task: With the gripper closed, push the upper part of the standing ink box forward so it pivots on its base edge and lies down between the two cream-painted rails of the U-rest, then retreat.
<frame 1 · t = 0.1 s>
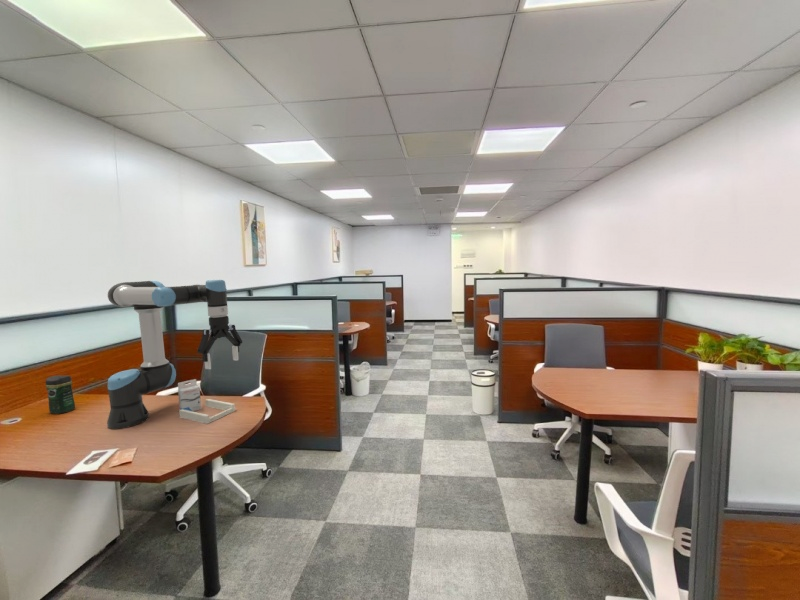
hand: (222, 364, 148), 28 cm above the table, fingers open, 13 cm apart
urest: (207, 413, 164), on the table
ink box: (190, 410, 169), on the table
coffee jar: (62, 411, 174), on the table
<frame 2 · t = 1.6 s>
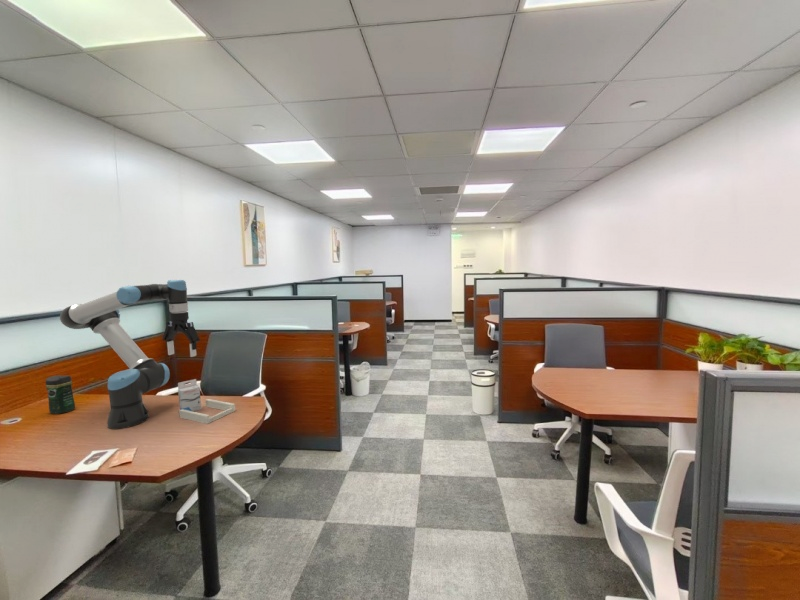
hand: (182, 355, 166), 28 cm above the table, fingers open, 13 cm apart
nothing on the table moved.
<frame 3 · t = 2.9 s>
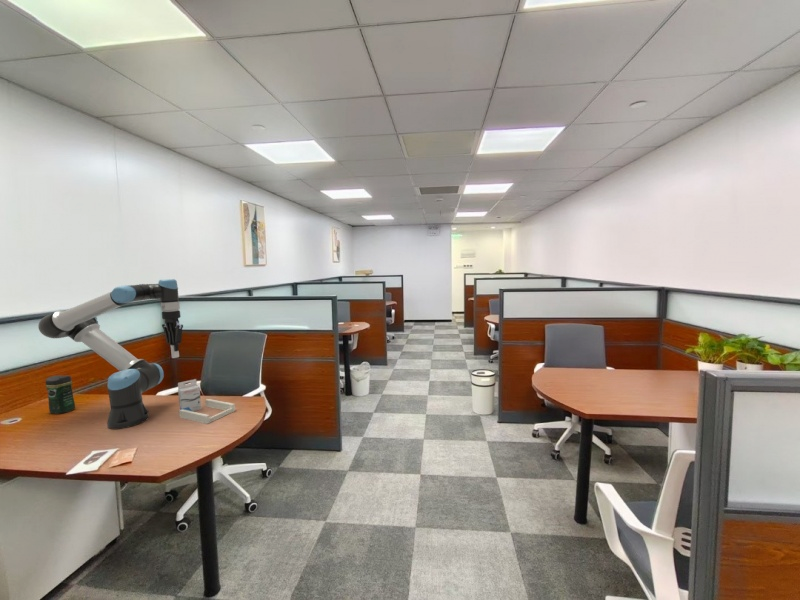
hand: (175, 357, 170), 26 cm above the table, fingers closed
nothing on the table moved.
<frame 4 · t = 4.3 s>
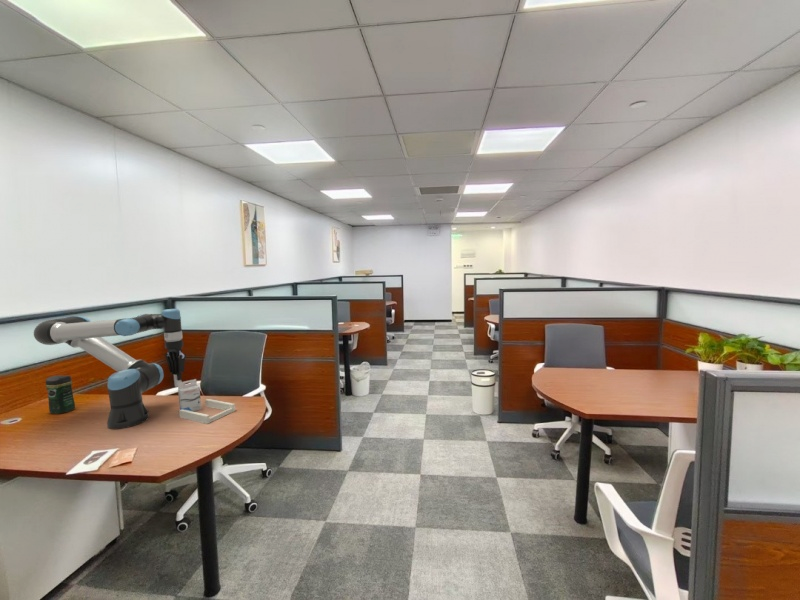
hand: (178, 386, 171), 12 cm above the table, fingers closed
nothing on the table moved.
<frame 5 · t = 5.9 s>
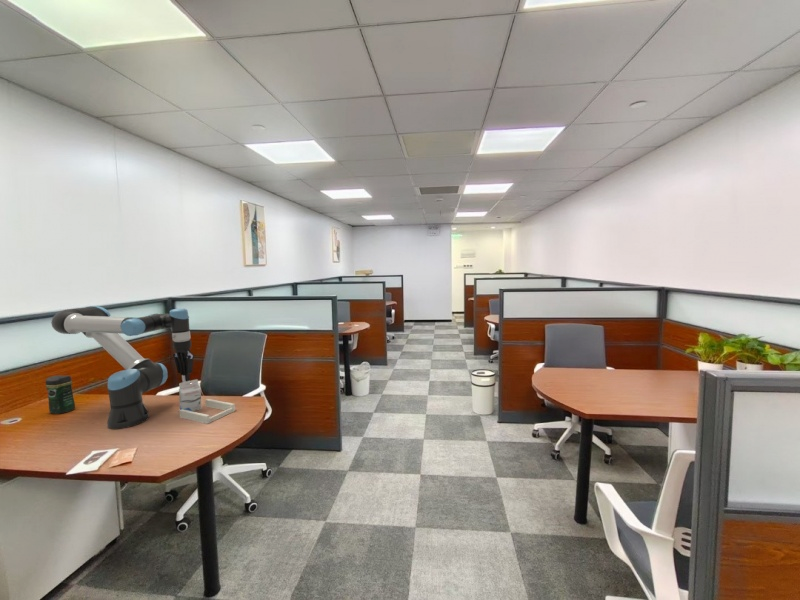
hand: (186, 387, 169), 12 cm above the table, fingers closed
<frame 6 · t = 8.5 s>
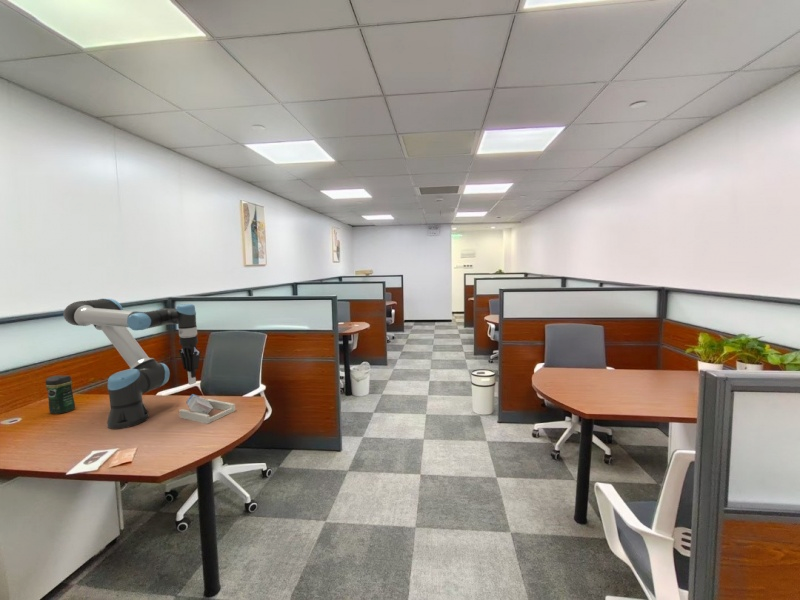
hand: (192, 383, 166), 14 cm above the table, fingers closed
ink box: (197, 401, 169), point 4 cm above the table, touching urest
everything else where it was.
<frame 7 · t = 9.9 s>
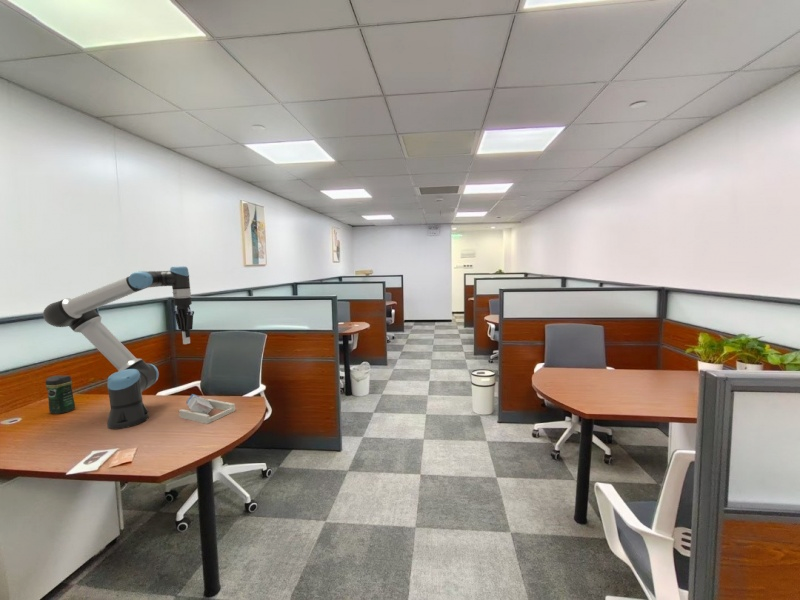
hand: (186, 343, 173), 32 cm above the table, fingers closed
nothing on the table moved.
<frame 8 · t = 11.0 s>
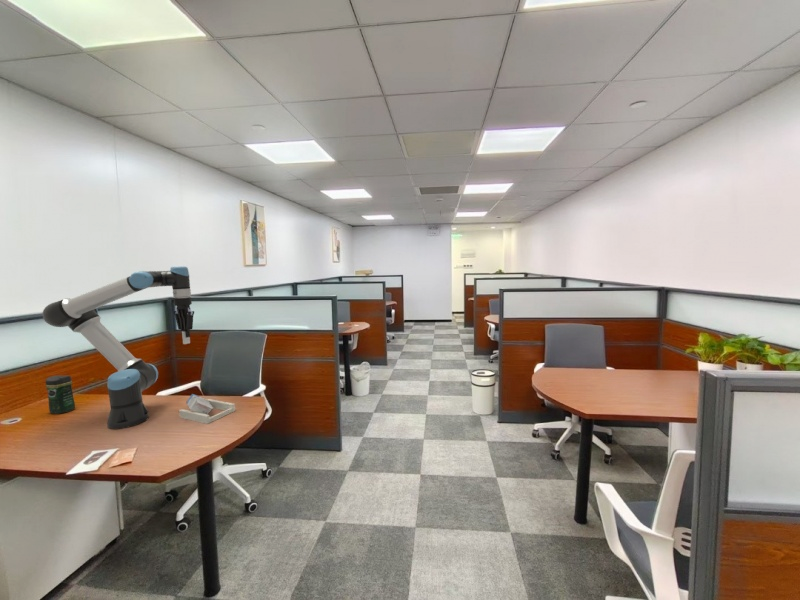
hand: (186, 343, 173), 32 cm above the table, fingers closed
nothing on the table moved.
at the end: ink box tilted 89°; ink box inside the target area (3.0 cm from its centre), point 4.3 cm above the table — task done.
